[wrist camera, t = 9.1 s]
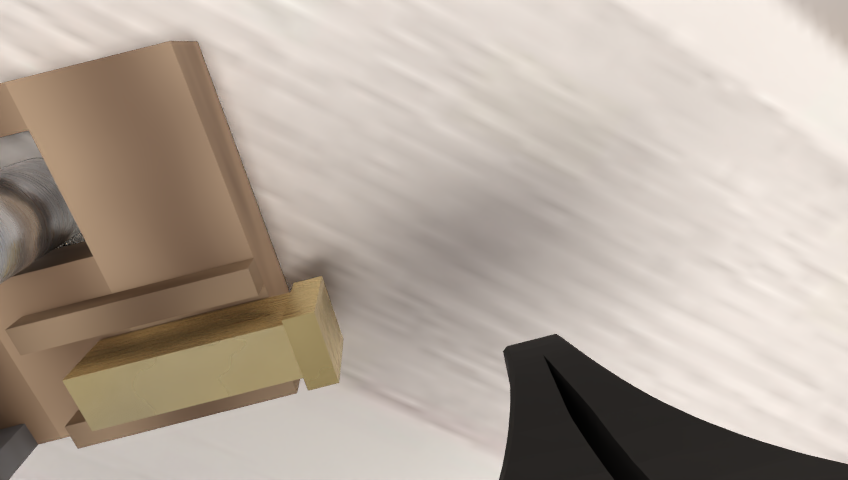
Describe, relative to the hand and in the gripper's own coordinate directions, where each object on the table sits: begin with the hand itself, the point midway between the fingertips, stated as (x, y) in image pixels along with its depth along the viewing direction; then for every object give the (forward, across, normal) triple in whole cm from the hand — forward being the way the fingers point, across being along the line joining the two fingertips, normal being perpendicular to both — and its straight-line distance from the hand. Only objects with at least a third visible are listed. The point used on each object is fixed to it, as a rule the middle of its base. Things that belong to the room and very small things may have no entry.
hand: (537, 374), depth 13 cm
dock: (+9, +14, -4) cm, 17 cm away
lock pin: (+6, +10, 0) cm, 11 cm away
